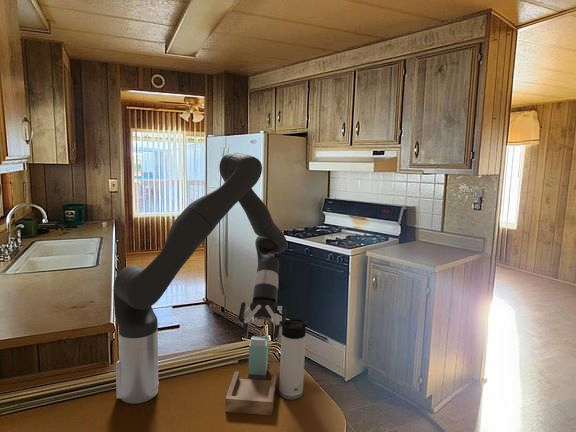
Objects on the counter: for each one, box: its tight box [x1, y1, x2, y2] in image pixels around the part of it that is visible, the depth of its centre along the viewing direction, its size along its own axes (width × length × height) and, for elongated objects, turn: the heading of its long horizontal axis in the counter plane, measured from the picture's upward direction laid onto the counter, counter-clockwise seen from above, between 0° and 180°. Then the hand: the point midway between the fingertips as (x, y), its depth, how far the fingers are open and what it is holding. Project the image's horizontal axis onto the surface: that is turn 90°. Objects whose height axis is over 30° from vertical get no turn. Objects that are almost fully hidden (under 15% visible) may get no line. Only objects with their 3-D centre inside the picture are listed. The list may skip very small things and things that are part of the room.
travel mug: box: [278, 318, 309, 400], centre depth 104 cm, size 6×7×20 cm
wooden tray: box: [224, 370, 278, 416], centre depth 102 cm, size 11×12×4 cm
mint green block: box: [247, 335, 270, 380], centre depth 113 cm, size 5×6×12 cm
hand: (260, 338), depth 116 cm, fingers open, 8 cm apart
